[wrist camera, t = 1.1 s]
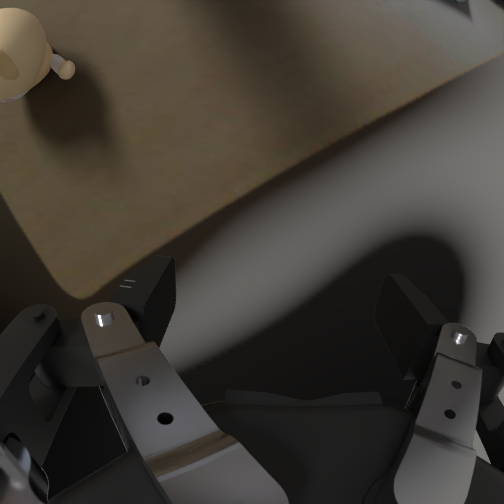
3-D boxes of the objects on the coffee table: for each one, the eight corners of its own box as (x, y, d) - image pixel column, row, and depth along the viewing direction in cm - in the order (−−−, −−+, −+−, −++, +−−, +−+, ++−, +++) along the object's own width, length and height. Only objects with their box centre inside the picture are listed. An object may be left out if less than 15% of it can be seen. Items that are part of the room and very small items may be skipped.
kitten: (-12, 57, 24) (-82, 39, 10) (42, 3, 23) (-15, -39, 9) (30, 132, 29) (-46, 137, 15) (90, 76, 29) (31, 45, 15)
